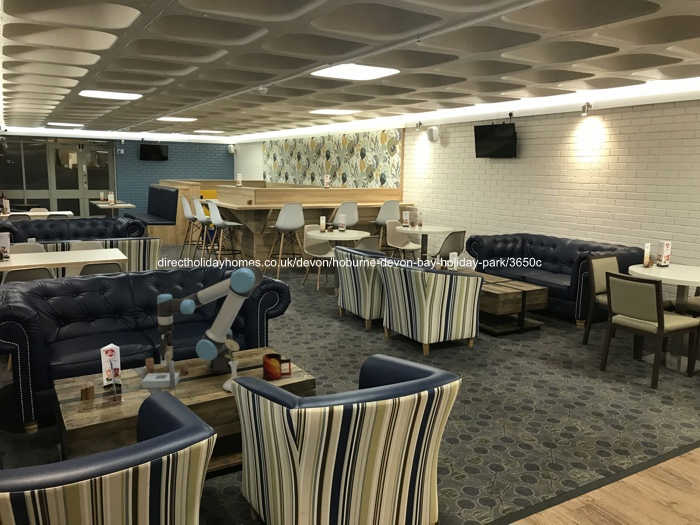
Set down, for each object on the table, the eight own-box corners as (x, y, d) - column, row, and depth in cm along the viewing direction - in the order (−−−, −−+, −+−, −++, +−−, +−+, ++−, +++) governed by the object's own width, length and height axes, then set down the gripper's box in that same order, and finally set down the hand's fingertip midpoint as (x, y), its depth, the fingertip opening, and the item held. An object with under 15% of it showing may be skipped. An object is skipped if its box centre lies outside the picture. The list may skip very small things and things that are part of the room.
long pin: (172, 372, 302) (171, 347, 300) (170, 375, 298) (169, 350, 296) (165, 373, 302) (163, 348, 300) (163, 375, 298) (161, 350, 296)
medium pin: (155, 374, 300) (154, 357, 299) (153, 376, 296) (152, 360, 295) (147, 374, 300) (146, 358, 299) (145, 376, 296) (144, 360, 295)
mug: (291, 377, 295) (291, 355, 293) (267, 382, 288) (267, 360, 286) (283, 372, 303) (283, 351, 301) (260, 376, 296) (259, 355, 294)
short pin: (189, 373, 302) (188, 364, 301) (187, 375, 298) (187, 366, 297) (181, 373, 301) (181, 364, 301) (179, 375, 297) (179, 366, 297)
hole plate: (181, 378, 293) (180, 353, 291) (174, 389, 278) (173, 362, 276) (148, 379, 291) (147, 353, 289) (140, 390, 277) (138, 362, 275)
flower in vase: (250, 389, 278) (249, 340, 275) (231, 394, 271) (229, 345, 267) (236, 382, 288) (234, 335, 284) (216, 388, 280) (215, 339, 276)
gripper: (164, 317, 308) (165, 354, 311) (151, 329, 283) (153, 369, 286) (178, 317, 309) (179, 354, 312) (167, 329, 284) (168, 369, 287)
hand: (167, 361), depth 299 cm, fingers open, 13 cm apart
